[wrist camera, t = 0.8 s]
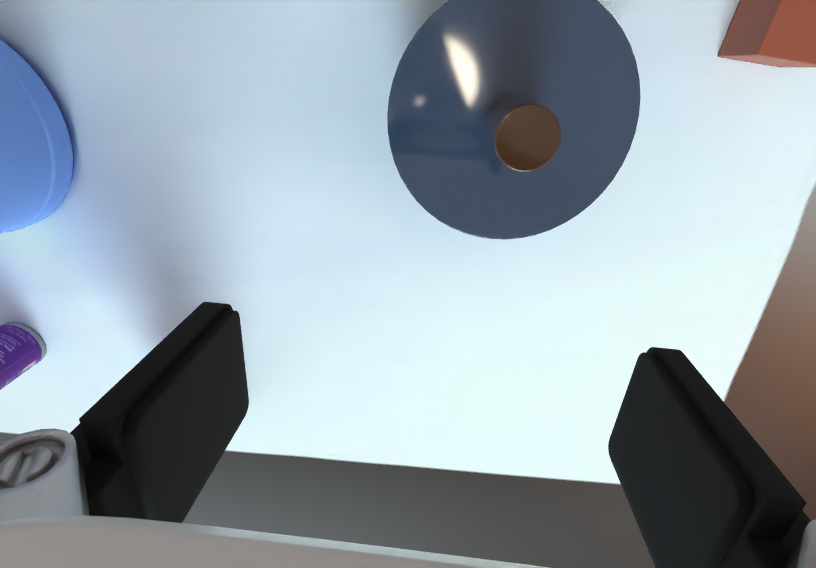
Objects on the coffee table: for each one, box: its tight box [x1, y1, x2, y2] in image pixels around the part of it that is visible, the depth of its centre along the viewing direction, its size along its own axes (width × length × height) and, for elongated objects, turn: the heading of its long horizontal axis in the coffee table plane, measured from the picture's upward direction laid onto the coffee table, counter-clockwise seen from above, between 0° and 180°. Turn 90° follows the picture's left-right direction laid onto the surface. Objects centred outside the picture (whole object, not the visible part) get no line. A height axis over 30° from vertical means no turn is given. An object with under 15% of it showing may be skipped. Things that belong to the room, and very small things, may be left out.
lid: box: [387, 0, 640, 239], centre depth 21 cm, size 12×12×7 cm
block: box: [718, 0, 816, 67], centre depth 26 cm, size 4×4×4 cm
